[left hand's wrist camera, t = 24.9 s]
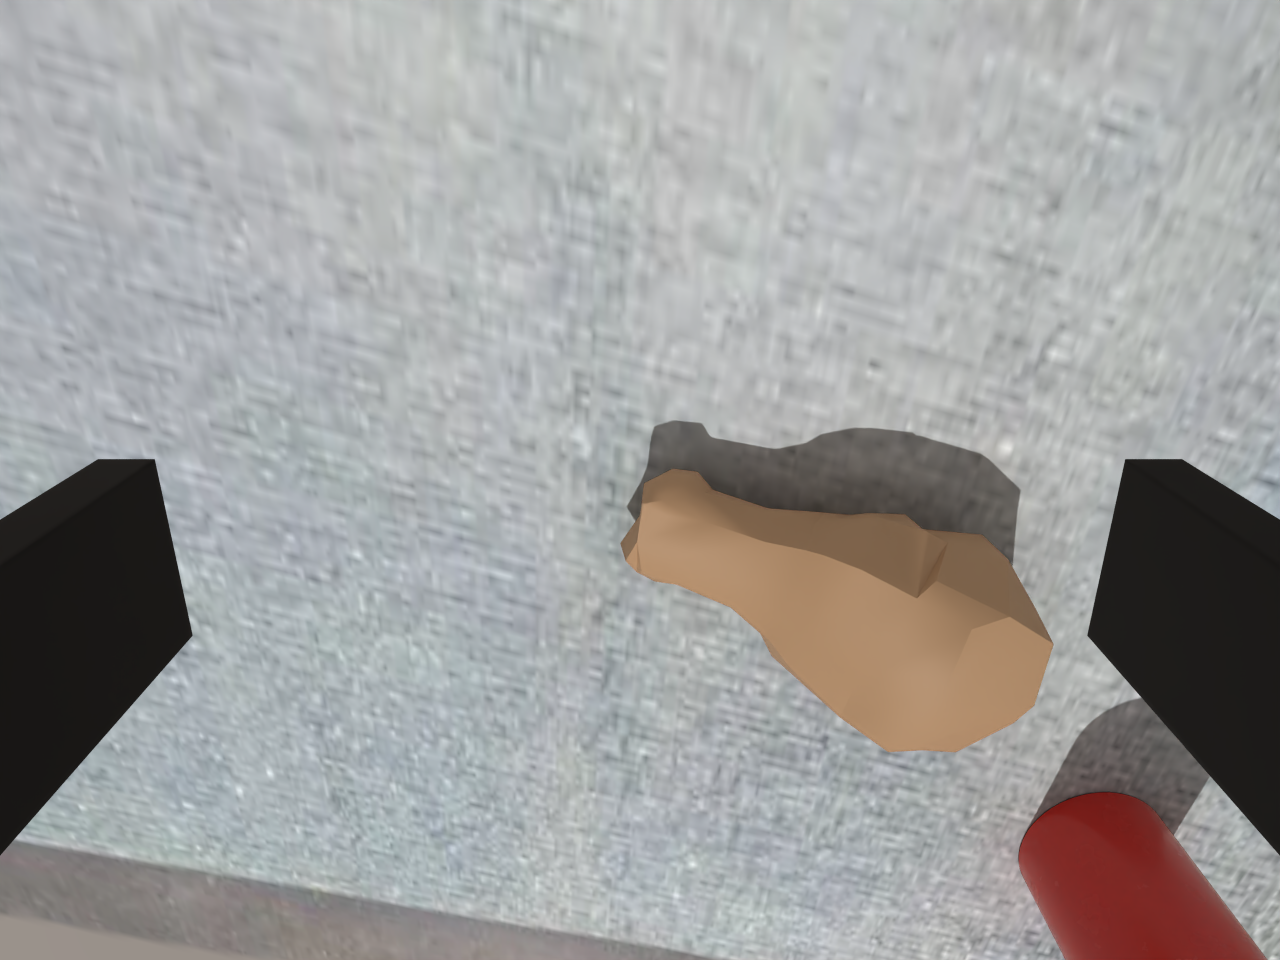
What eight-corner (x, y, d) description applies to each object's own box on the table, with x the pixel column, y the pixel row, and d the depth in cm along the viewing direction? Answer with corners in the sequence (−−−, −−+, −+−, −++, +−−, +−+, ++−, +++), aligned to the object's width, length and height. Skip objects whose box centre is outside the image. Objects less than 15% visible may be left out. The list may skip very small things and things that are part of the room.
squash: (955, 696, 48) (981, 832, 40) (611, 559, 48) (570, 669, 40) (1069, 543, 43) (1124, 665, 35) (681, 387, 42) (649, 475, 35)
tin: (988, 865, 52) (1088, 1075, 41) (1089, 768, 50) (1226, 963, 38) (1092, 924, 54) (1217, 1141, 43) (1195, 833, 52) (1357, 1038, 40)
